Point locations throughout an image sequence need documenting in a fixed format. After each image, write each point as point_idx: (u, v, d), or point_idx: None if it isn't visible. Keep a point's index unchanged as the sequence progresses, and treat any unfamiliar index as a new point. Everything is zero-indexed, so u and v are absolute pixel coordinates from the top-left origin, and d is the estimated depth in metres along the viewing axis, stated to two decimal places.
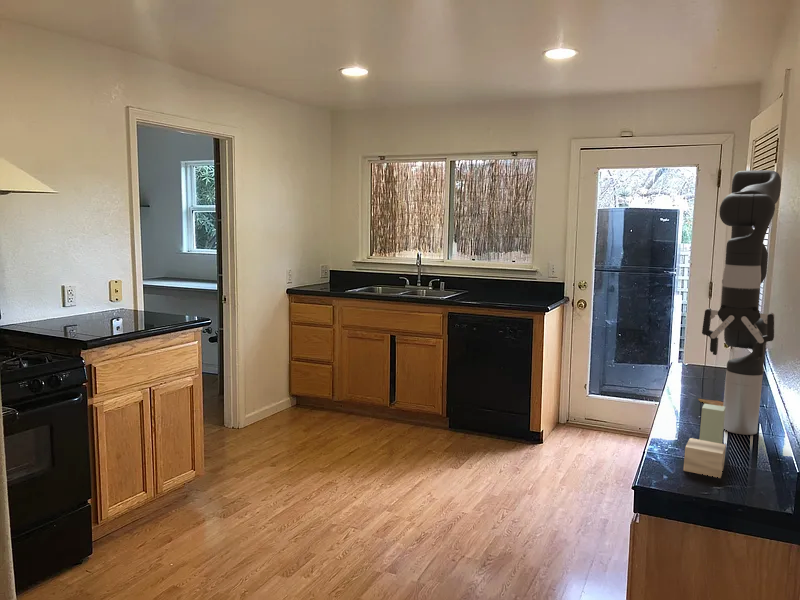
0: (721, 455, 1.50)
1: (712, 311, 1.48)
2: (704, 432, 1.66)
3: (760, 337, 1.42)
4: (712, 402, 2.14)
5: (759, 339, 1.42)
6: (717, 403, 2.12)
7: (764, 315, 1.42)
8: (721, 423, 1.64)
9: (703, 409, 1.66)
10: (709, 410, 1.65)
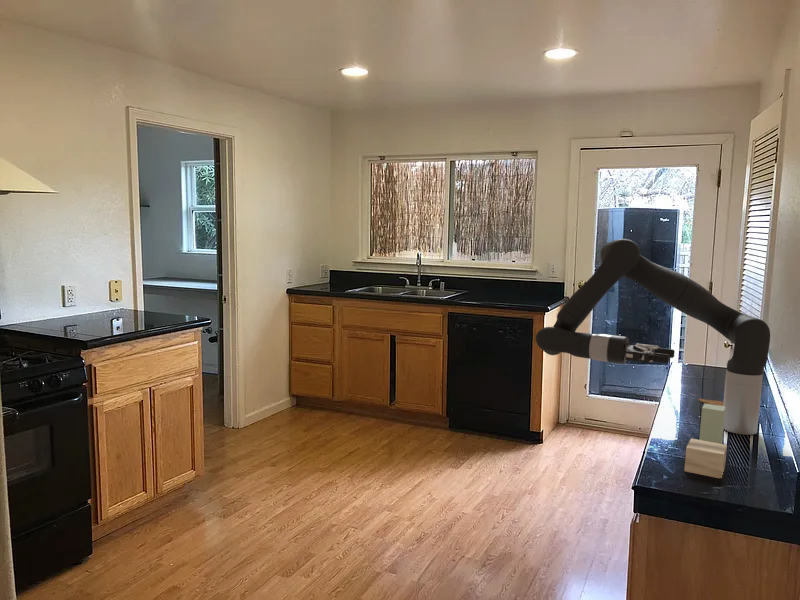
0: (722, 456, 1.50)
1: None
2: (705, 432, 1.66)
3: None
4: (712, 402, 2.14)
5: None
6: (717, 403, 2.12)
7: None
8: (721, 423, 1.64)
9: (703, 409, 1.66)
10: (709, 410, 1.65)
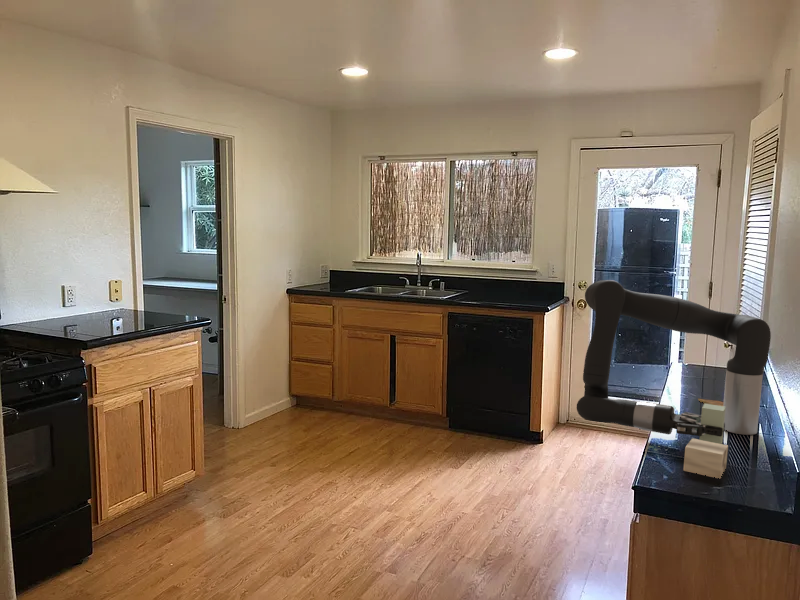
0: (721, 456, 1.50)
1: None
2: None
3: None
4: (712, 402, 2.14)
5: None
6: (717, 403, 2.12)
7: None
8: (721, 423, 1.64)
9: (703, 409, 1.66)
10: (709, 410, 1.65)
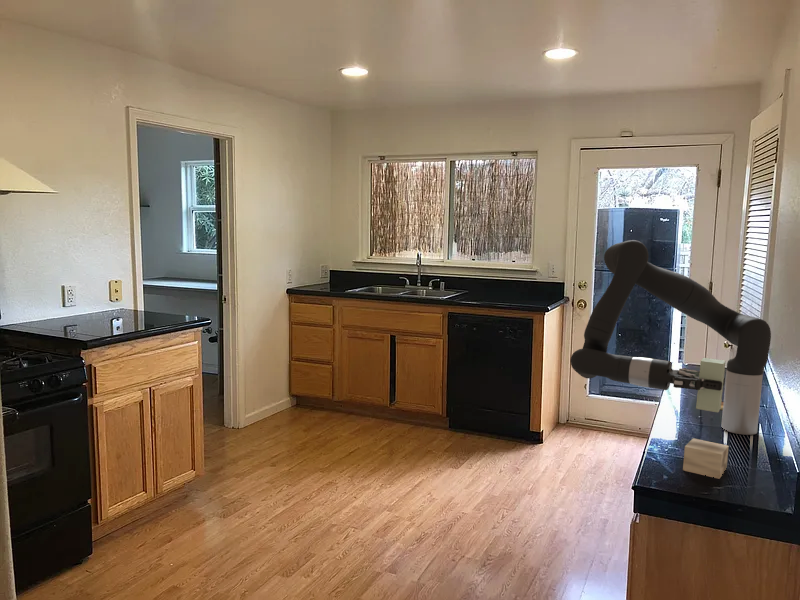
0: (720, 456, 1.50)
1: None
2: None
3: None
4: None
5: None
6: None
7: None
8: (720, 376, 1.56)
9: (702, 362, 1.58)
10: (708, 363, 1.57)
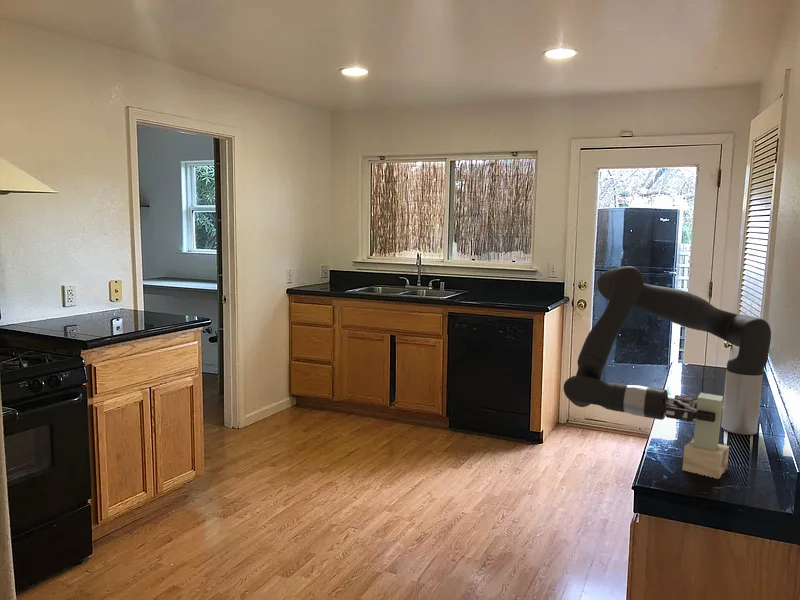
0: (719, 456, 1.50)
1: None
2: (700, 424, 1.53)
3: None
4: None
5: None
6: None
7: None
8: (718, 414, 1.51)
9: (699, 399, 1.53)
10: (705, 400, 1.52)
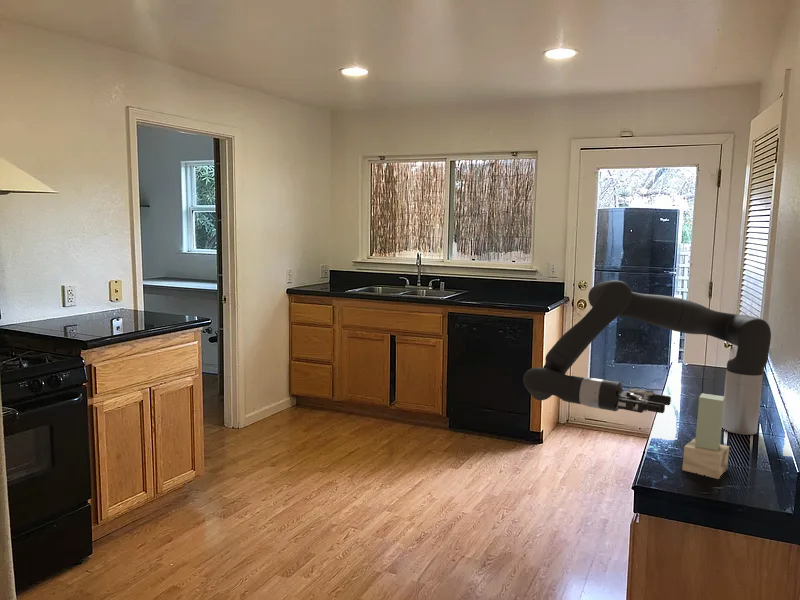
0: (719, 456, 1.50)
1: None
2: (702, 424, 1.53)
3: None
4: None
5: None
6: None
7: None
8: (720, 414, 1.51)
9: (700, 398, 1.53)
10: (707, 400, 1.52)
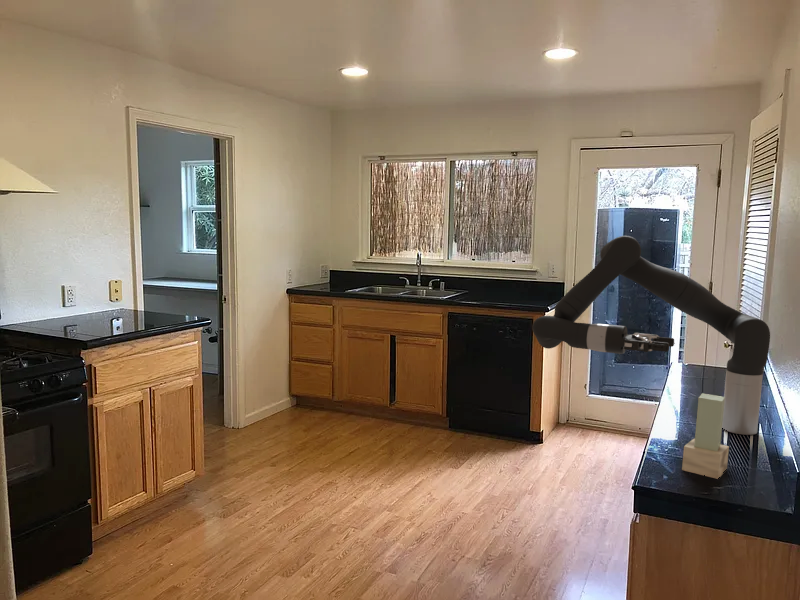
0: (719, 456, 1.50)
1: None
2: (701, 424, 1.53)
3: None
4: None
5: None
6: None
7: None
8: (719, 414, 1.51)
9: (700, 399, 1.53)
10: (706, 400, 1.52)
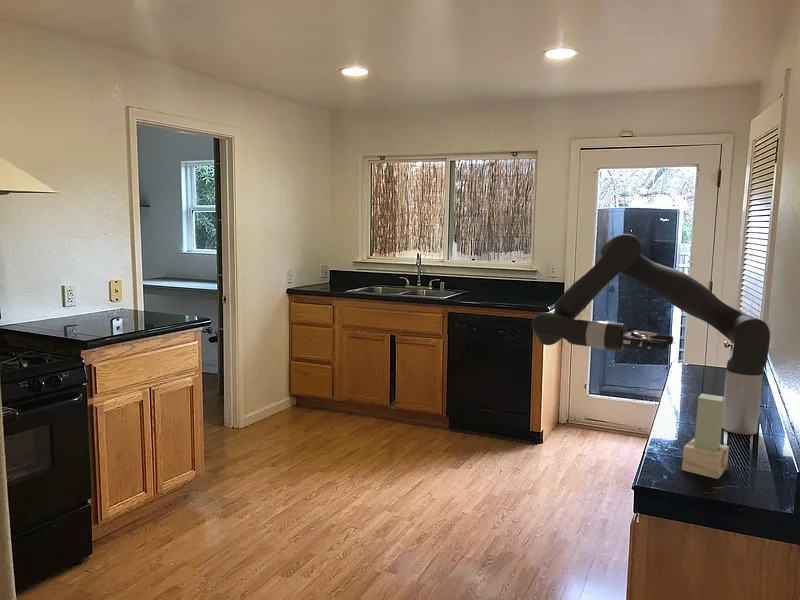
0: (718, 456, 1.50)
1: None
2: (701, 424, 1.53)
3: None
4: None
5: None
6: None
7: None
8: (719, 414, 1.51)
9: (699, 399, 1.53)
10: (706, 400, 1.52)
